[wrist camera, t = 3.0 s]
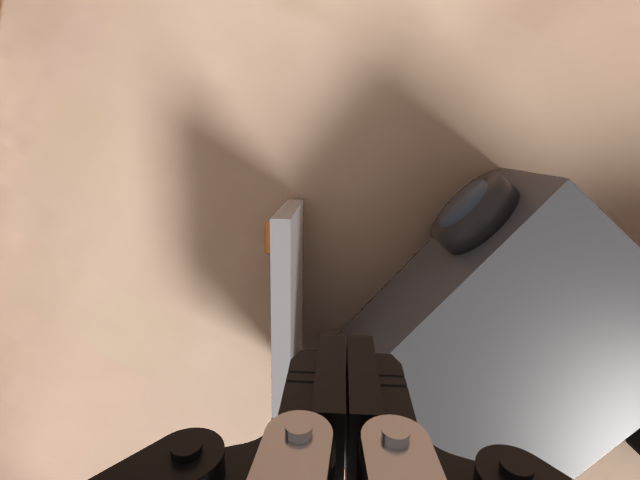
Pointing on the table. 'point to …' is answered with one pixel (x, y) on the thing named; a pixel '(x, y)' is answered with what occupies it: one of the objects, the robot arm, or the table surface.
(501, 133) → the table surface
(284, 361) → the side door
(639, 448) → the black piece
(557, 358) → the camera box
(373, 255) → the table surface
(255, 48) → the table surface
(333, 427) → the robot arm
